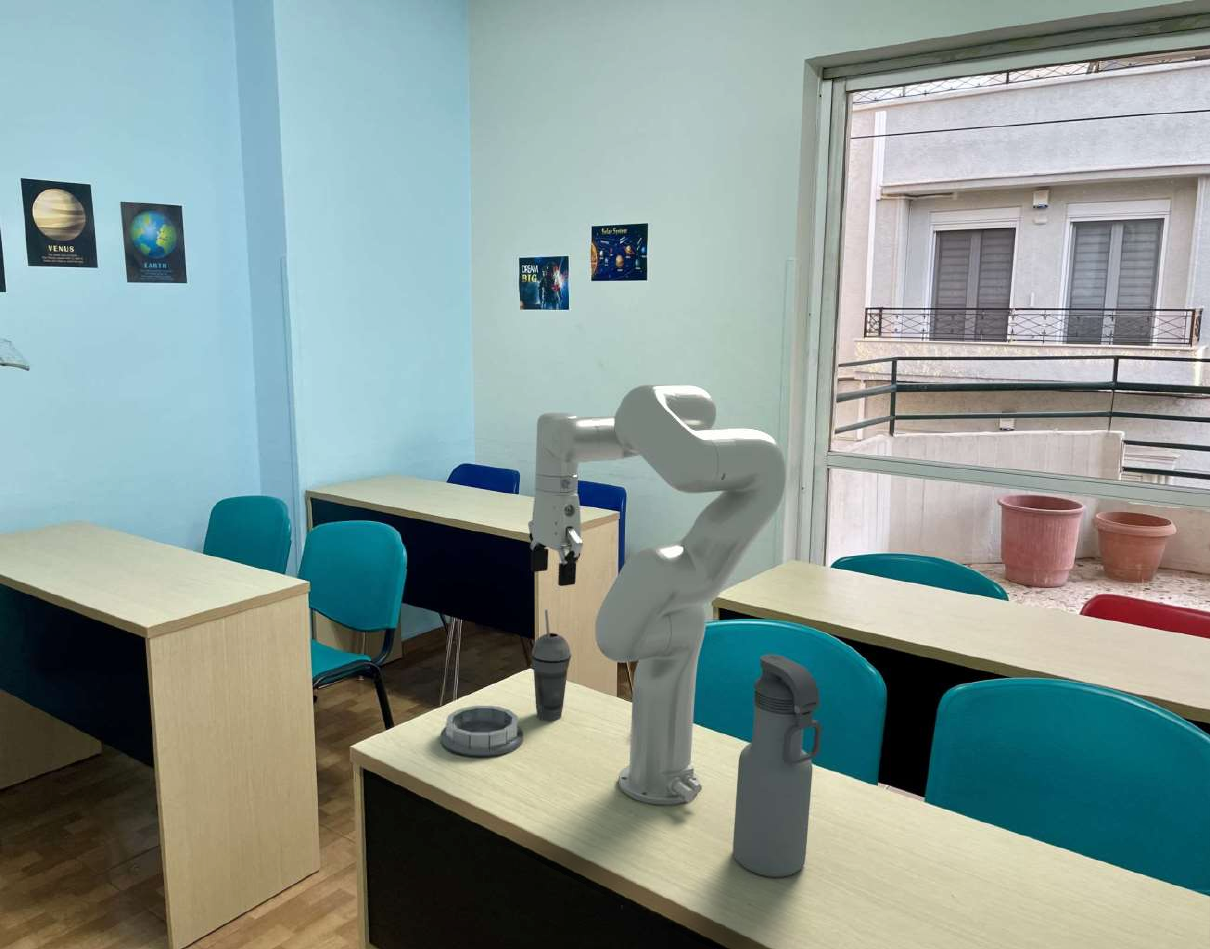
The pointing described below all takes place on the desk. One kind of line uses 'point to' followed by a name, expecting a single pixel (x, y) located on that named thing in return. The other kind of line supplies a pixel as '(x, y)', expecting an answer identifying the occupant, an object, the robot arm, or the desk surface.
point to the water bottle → (777, 771)
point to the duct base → (481, 732)
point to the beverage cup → (550, 673)
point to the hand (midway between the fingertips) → (552, 577)
